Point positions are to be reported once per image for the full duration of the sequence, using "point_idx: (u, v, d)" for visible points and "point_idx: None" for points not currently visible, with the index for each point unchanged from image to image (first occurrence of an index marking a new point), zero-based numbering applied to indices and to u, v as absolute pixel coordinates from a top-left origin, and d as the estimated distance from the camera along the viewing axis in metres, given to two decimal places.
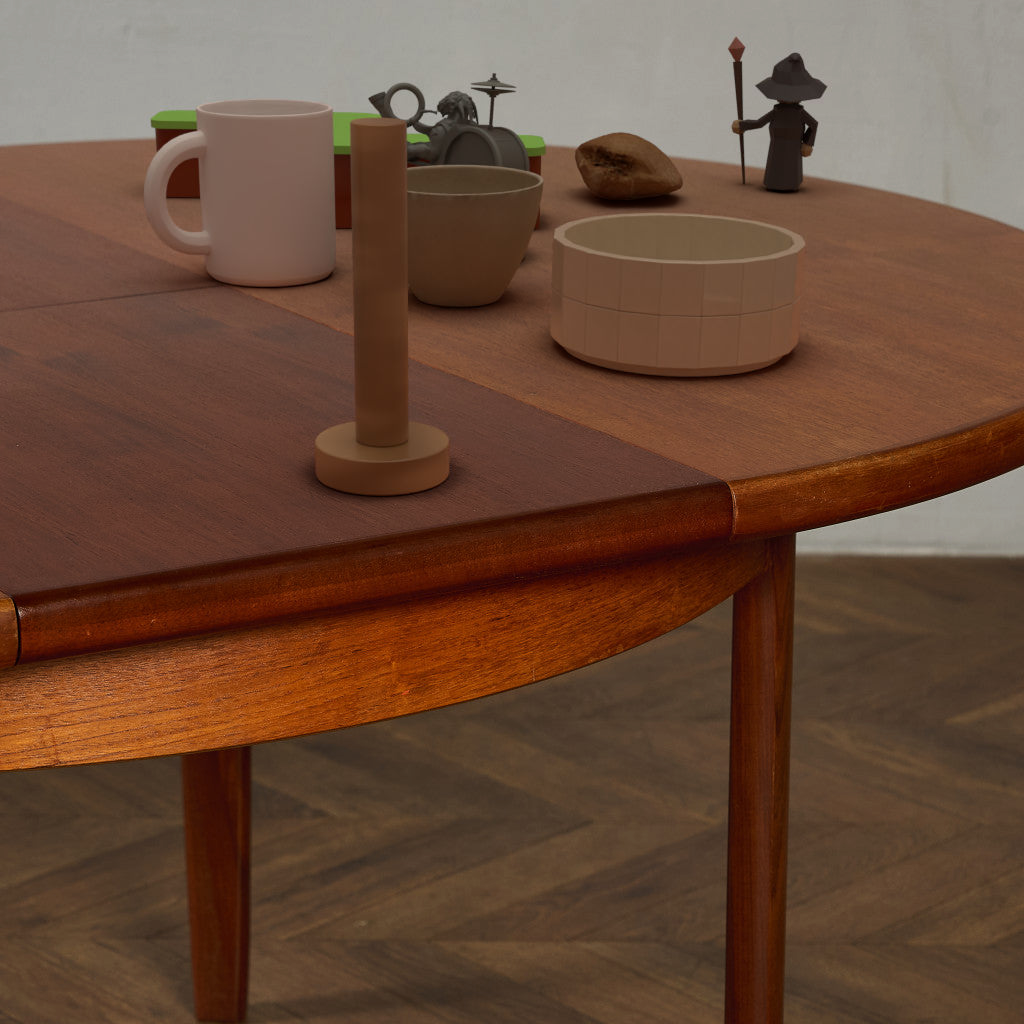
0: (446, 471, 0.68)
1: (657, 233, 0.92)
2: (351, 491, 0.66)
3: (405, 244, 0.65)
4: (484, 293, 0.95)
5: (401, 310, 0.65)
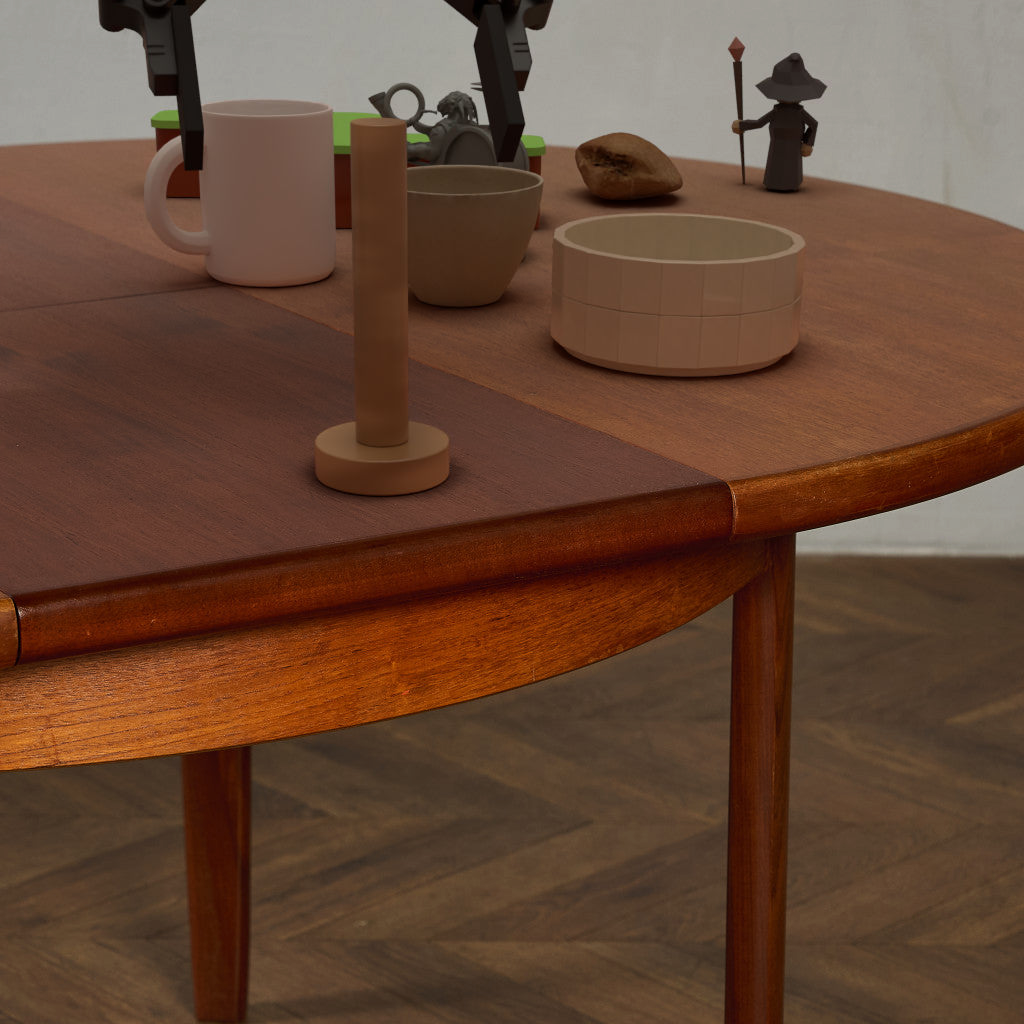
0: (446, 471, 0.68)
1: (657, 233, 0.92)
2: (351, 491, 0.66)
3: (405, 244, 0.65)
4: (484, 293, 0.95)
5: (401, 310, 0.65)
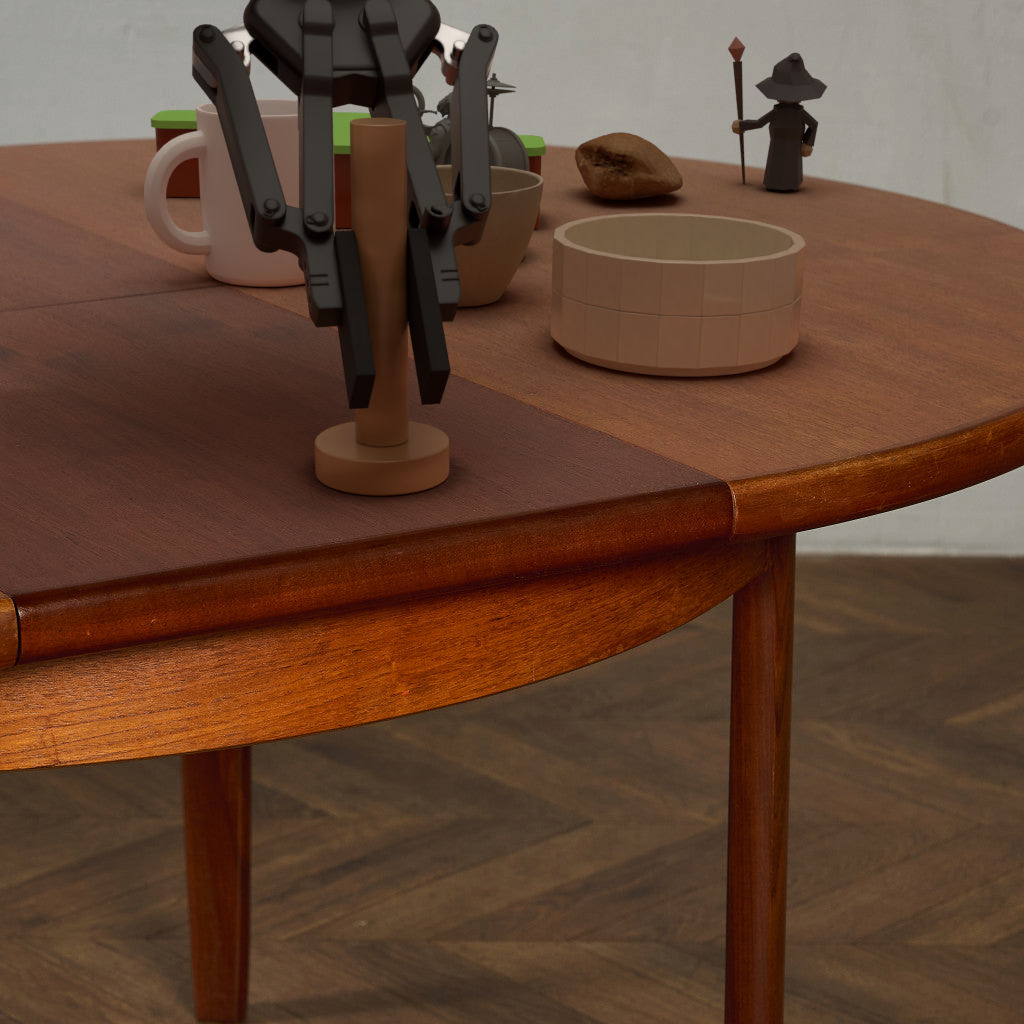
0: (446, 471, 0.68)
1: (657, 233, 0.92)
2: (351, 491, 0.66)
3: (405, 244, 0.65)
4: (484, 293, 0.95)
5: (400, 310, 0.65)
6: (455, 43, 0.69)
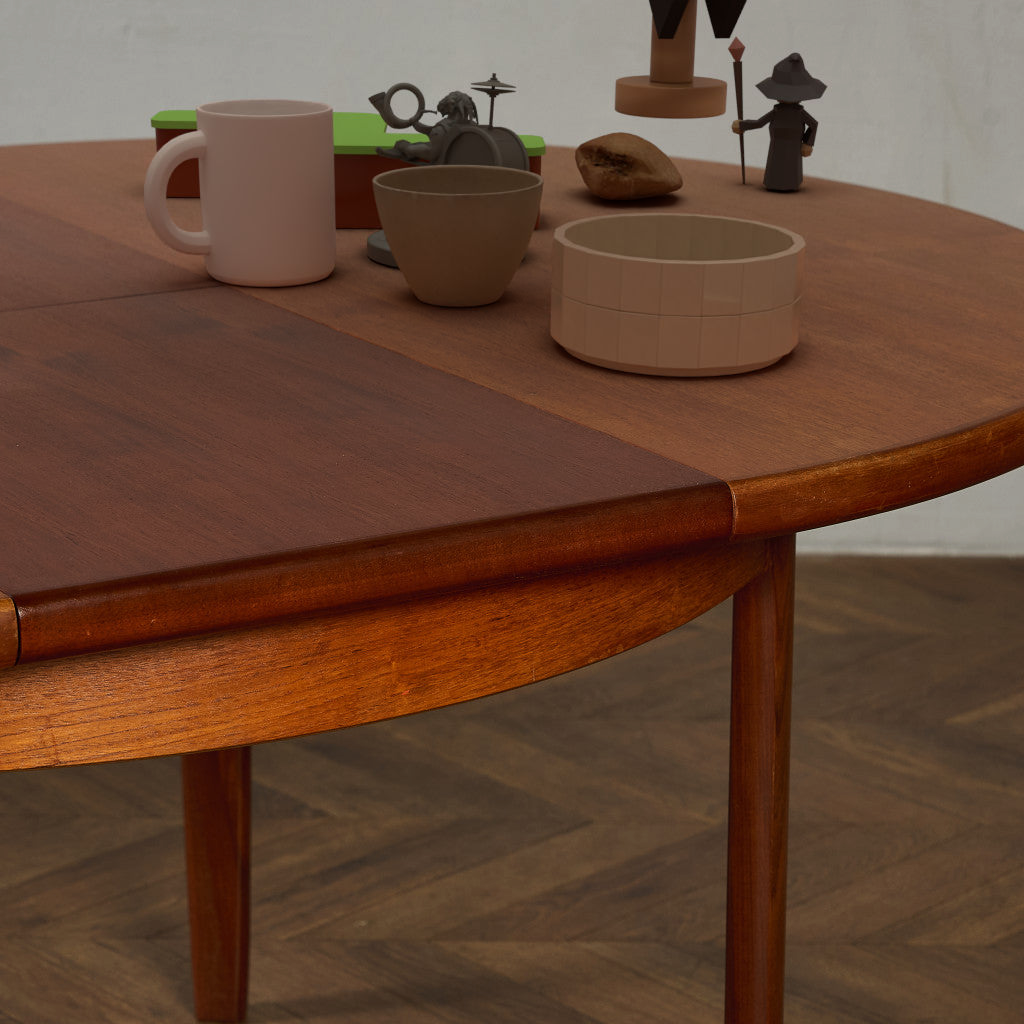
0: (725, 106, 0.82)
1: (657, 233, 0.92)
2: (652, 115, 0.80)
3: None
4: (484, 293, 0.95)
5: None
6: None
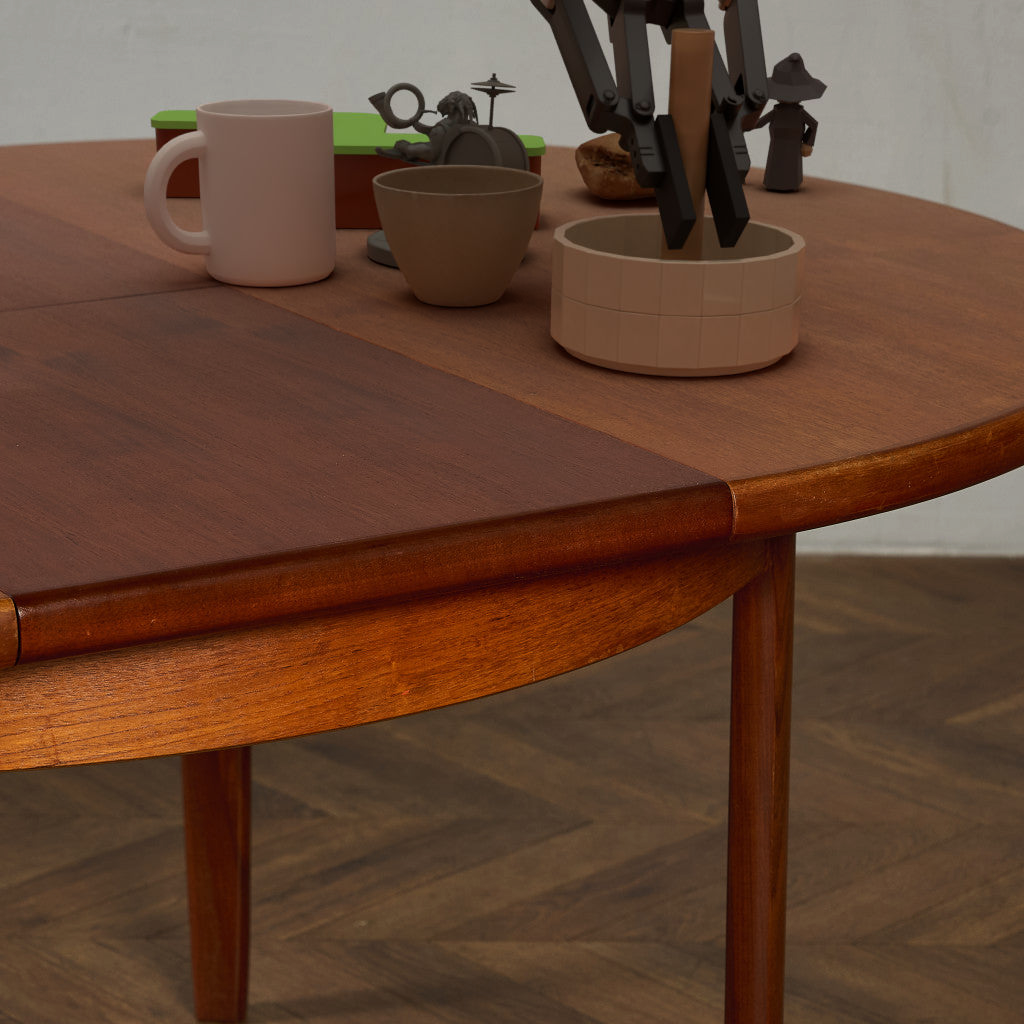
0: None
1: (657, 233, 0.92)
2: None
3: (708, 125, 0.85)
4: (484, 293, 0.95)
5: (703, 176, 0.86)
6: None
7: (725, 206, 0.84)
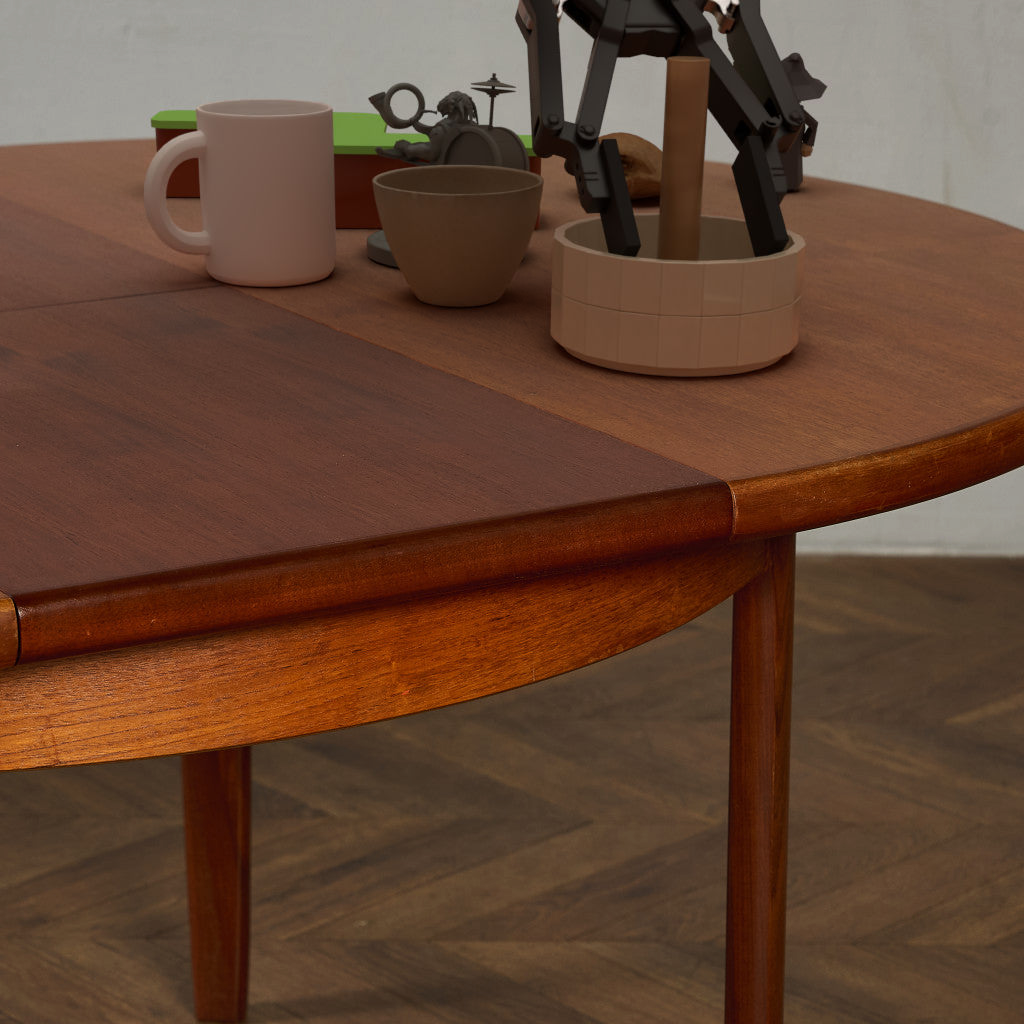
0: None
1: (657, 233, 0.92)
2: None
3: (704, 153, 0.84)
4: (484, 293, 0.95)
5: (698, 205, 0.85)
6: (732, 0, 0.89)
7: (763, 228, 0.84)
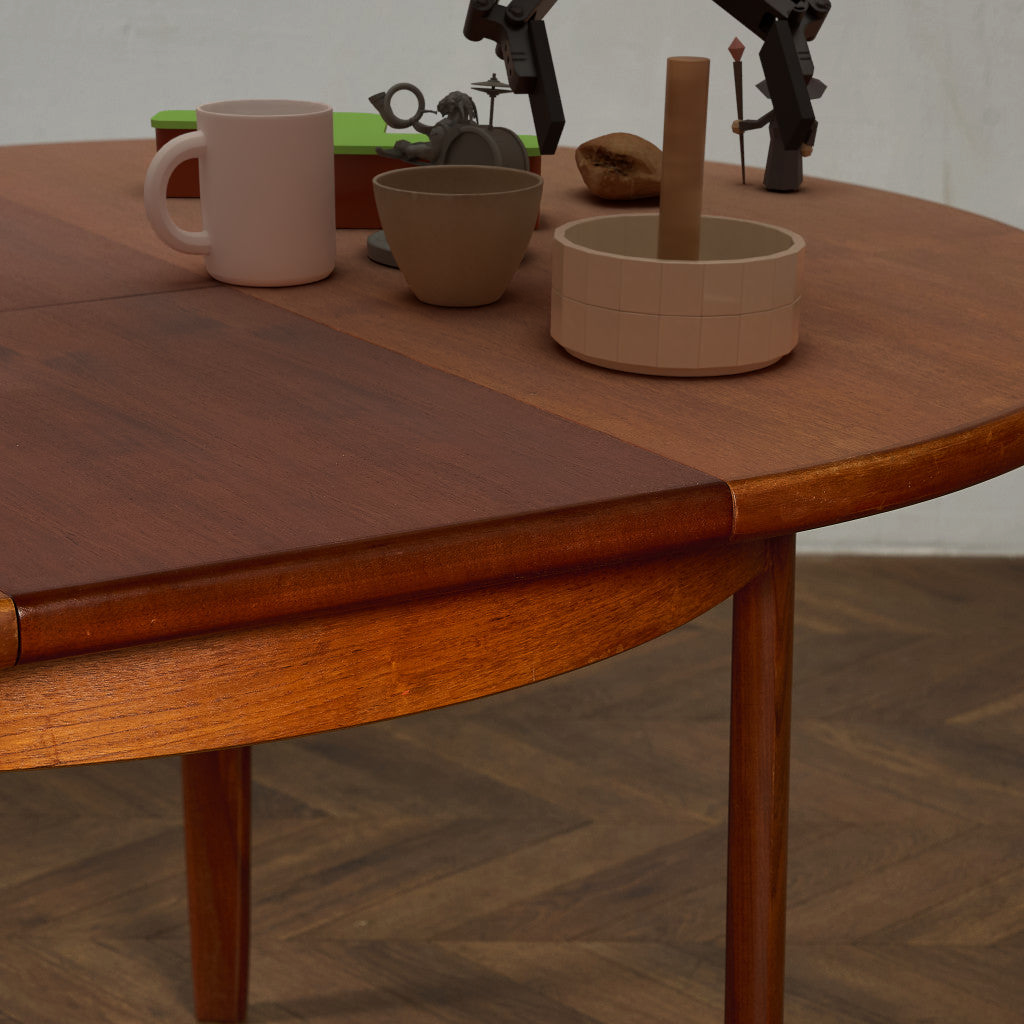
0: None
1: (657, 233, 0.92)
2: None
3: (704, 153, 0.84)
4: (484, 293, 0.95)
5: (698, 205, 0.85)
6: None
7: (790, 109, 0.87)
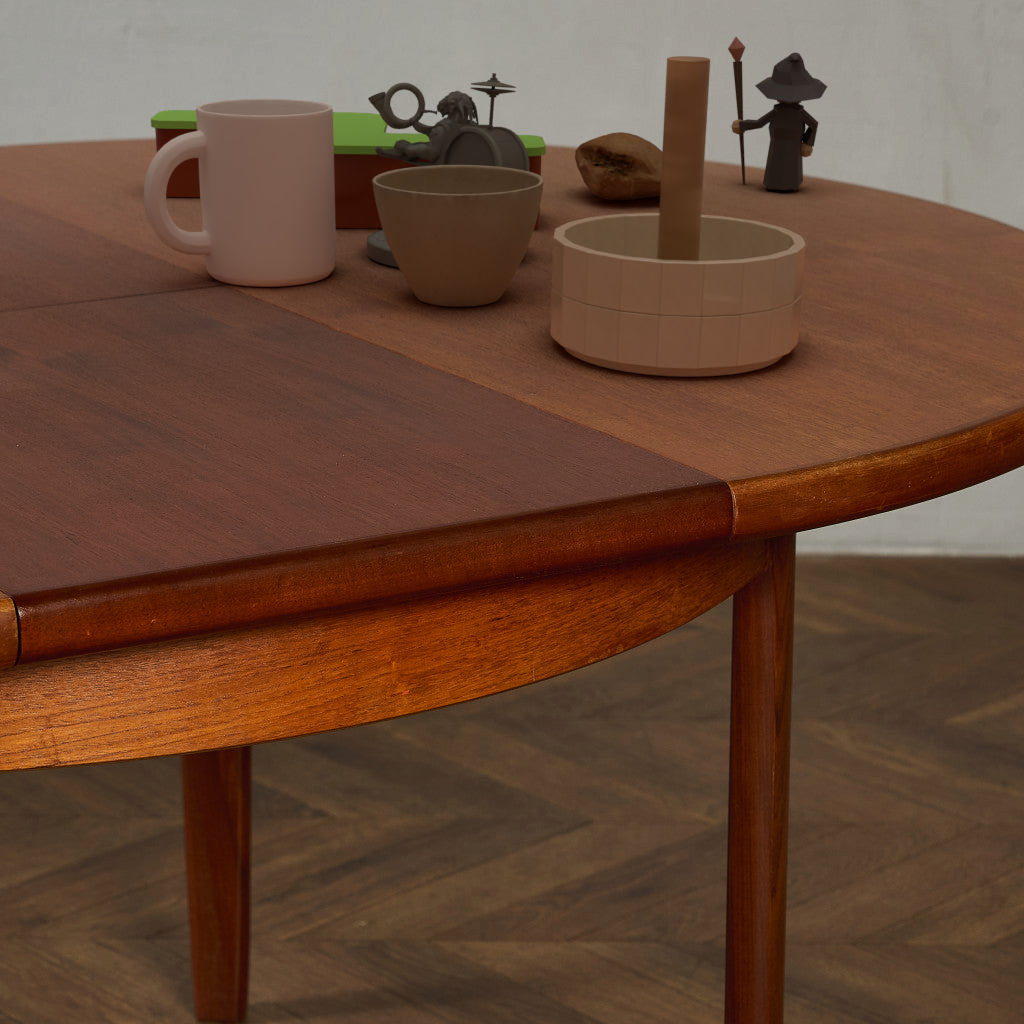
0: None
1: (657, 233, 0.92)
2: None
3: (704, 153, 0.84)
4: (484, 293, 0.95)
5: (698, 205, 0.85)
6: None
7: None
